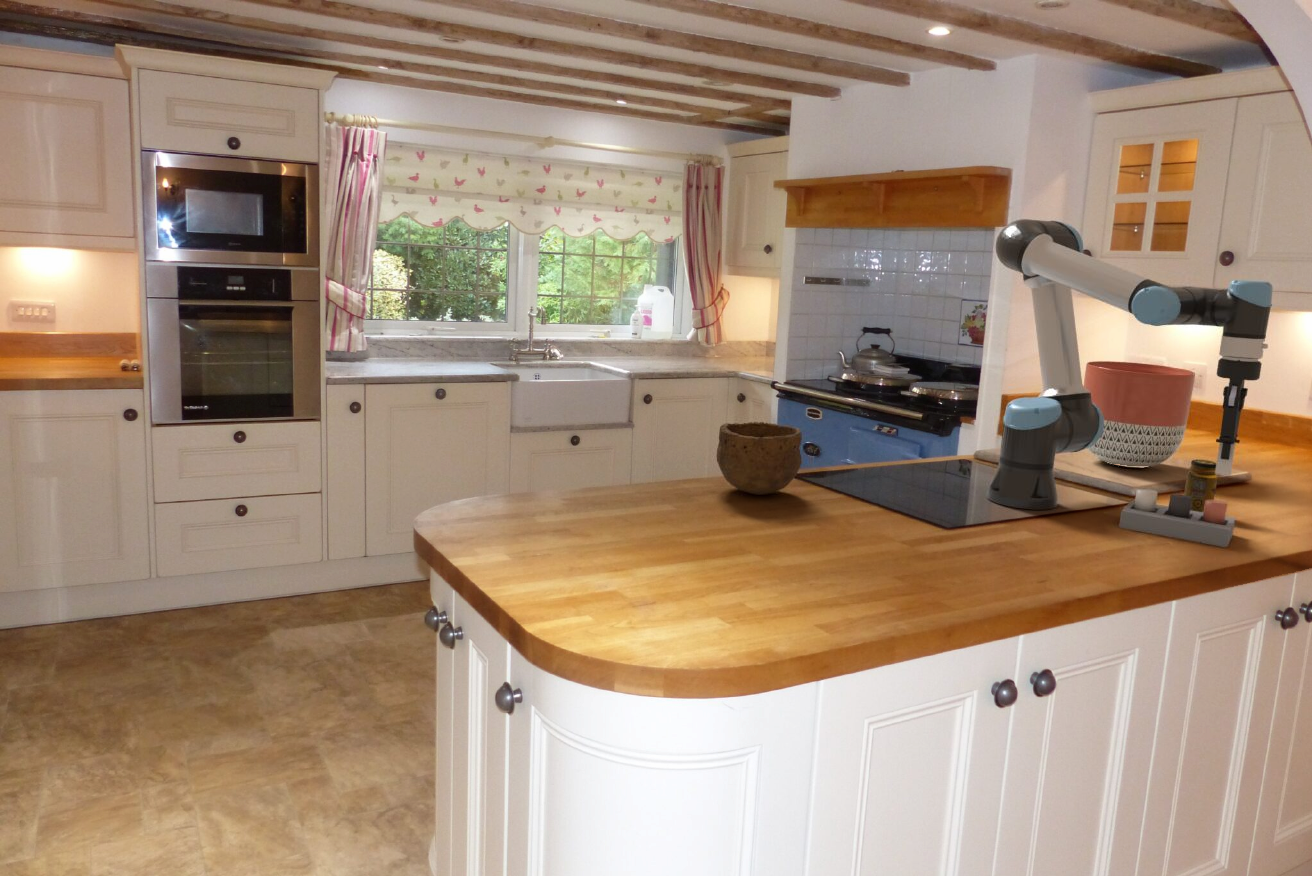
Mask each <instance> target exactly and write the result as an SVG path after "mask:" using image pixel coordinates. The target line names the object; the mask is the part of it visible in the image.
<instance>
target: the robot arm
mask: <svg viewBox="0 0 1312 876" xmlns="http://www.w3.org/2000/svg"><path fill="white" fill-rule="evenodd" d="M995 241H996V242H995V253H996V256H997V258H998V260H999V261H1000V263H1001V264H1002V265H1003V266H1004V267H1006V268H1007V269H1010V270H1013V271H1015V272H1017V273H1018V272H1019V273H1020V274H1022V280H1023V284H1024V285H1026V286H1027V287H1029V288H1030V290H1031V297H1032V306H1033V314H1034V323H1035V324H1034V325H1035V331H1036V340H1037V349H1038V357H1039V364H1040V365H1039V366H1040V373H1041V382H1042V383H1041V385H1042V391H1041V392H1040V393H1039V395H1038V396H1033V397H1019V398H1016V399H1015V398H1014V399H1012V400H1011V401H1010V402H1008V404H1006V407H1005V412H1004V415H1003V417H1002V418H1003V419H1002V421H1003V424H1002V425H1003V426H1002V435H1001V441H1000V442H1001V444H1000V452H999V459H998V461H999V462H998V466H997V468H996V470H995V472H994V474H993V477H992V478H991V480H990V483H989V485H988V487H987V493H986V498H987V499H988V500H989V501H991V502H994V503H995V504H999V505H1002V506H1006V507H1009V508H1010V507H1011V508H1017V509H1023V510H1034V511H1036V510H1038V511H1039V510H1040V511H1041V510H1051V509H1055V508H1057V506H1058V499H1059V496H1058V495H1059V494H1058V489H1057V486H1056V480H1055V476H1054V466H1055V460H1056V459H1055V457H1056V455H1057V454H1065V453H1078V452H1080V451H1084V450H1088V448H1089V447H1091V446H1093V445H1094V444H1095V443H1096V442H1097V441H1098V440H1099V438H1100V437H1101V435H1102V432H1103V429H1104V418H1103V414H1102V412H1101V410H1100V409H1099V408H1097V406H1096V405H1095V404H1094V403H1092V400H1091V393H1090V391H1089V390H1088V389H1087V388H1085V387H1084V383H1083V379H1082V371H1081V370H1082V369H1081V363H1080V354H1079V345H1078V335H1077V328H1076V318H1075V311H1074V310H1075V309H1074V301H1073V295H1072V293H1073V291H1072V290H1074V291H1076V292H1079V293H1080V294H1084V295H1086V296H1089V297H1091V298H1093V299H1095V300H1098V301H1099V302H1100V301H1101V302H1103V303H1106V304H1108V305H1110V306H1113V307H1114V308H1117V309H1120V310H1122V311H1124V312H1126V313H1129V314H1132V315H1133V316H1134V317H1135V319H1136V321H1138V322H1140V323H1141V324H1143V325H1148V326H1149V325H1150V326H1154V327H1160V326H1172V325H1173V326H1174V325H1175V326H1179V325H1181V326H1183V325H1184V326H1187V325H1189V326H1190V325H1191V326H1192V325H1193V326H1194V325H1195V326H1207V327H1208V326H1209V327H1218V328H1220V327H1221V328H1222V335H1221V339H1220V346H1219V351H1218V353H1219V356H1220V357H1221V358H1220V359H1218V363H1217V368H1216V376H1217V377H1218V378H1222V379H1229V382H1228V385H1226V386H1224V387H1223V391H1222V396H1223V402H1222V409H1223V411H1222V420H1221V428H1220V433H1219V434H1220V435H1219V436H1218V437H1219V438H1216V439H1215V442H1216V443H1218V444H1219V445H1218V452H1217V458H1216V462H1215V463H1216V470H1215V474H1216V475H1220V476H1221V475H1222V476H1227V477H1228V476H1229V477H1230V476H1231V475H1232V468H1233V462H1234V455H1235V449H1236V444H1240V441H1241V440H1240V439H1237V438H1238V436H1239V435H1238V433H1239V432H1238V431H1239V426H1240V420H1241V413H1242V410H1243V409H1244V406H1245V402H1246V401H1245V400H1246V397H1247V395H1248V392H1249V391H1248V390H1249V389H1248V388H1247V387H1245V382H1246V381H1257V380H1259V379H1260V377H1261V371H1262V362H1261V361H1260V360H1261V359H1262V358H1263V357H1264V350H1265V349H1268V348H1269V344H1268V343H1265V341H1266V338H1267V336H1266V335H1267V330H1268V324H1269V319H1270V313H1271V308H1272V305H1273V304H1272V298H1273V288H1274V287H1273V285H1272V284H1271V282H1269V281H1265V280H1264V281H1262V280H1246V279H1245V280H1244V279H1243V280H1242V279H1241V280H1239V279H1237V280H1236V279H1235V280H1231V282H1230V283H1229V286H1228V288H1225V289H1220V288H1209V287H1194V286H1173V287H1172V286H1168V285H1165V284H1162V283H1160V282H1157V281H1155V280H1152V279H1150V278H1147V277H1144V276H1143V275H1139V274H1137V273H1134V272H1132V271H1129V270H1127V269H1124V268H1121V267H1118V266H1116V265H1113V264H1111V263H1108V262H1107V261H1104V260H1100V259H1099V258H1095V257H1093V256H1090V255H1087V254H1085V253H1084V243H1083V238H1082V237H1081V235H1080V233H1079V231H1078V230H1077V229H1076V228H1075V227H1073V226H1072V225H1070V224H1068V223H1064V222H1062V221H1059V220H1058V221H1057V220H1038V219H1028V218H1025V219H1024V218H1021V219H1017V220H1014V221H1011V222H1010V223H1008V224H1007V225H1005V226H1004V227H1003V228H1002V229H1001V230H1000V232H999V233H998V235H997V237H996V240H995Z"/></svg>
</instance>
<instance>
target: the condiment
mask: <svg viewBox="0 0 1312 876" xmlns="http://www.w3.org/2000/svg"><path fill="white" fill-rule="evenodd" d="M1190 463H1191V464H1190V467H1189V470H1188V472H1187V475H1186V480H1185V484H1184V485H1185V486H1184V491H1183V495H1186V496H1190V497H1192V501H1191V507H1190V510H1191V511H1197V512H1204V506H1205V500H1215V495H1216V489H1217V485H1218V484H1217V482H1218V476H1219V475H1218V474H1215V470H1216V463H1217V462H1215V461H1211V460H1207V459H1192V460H1191V462H1190Z"/></svg>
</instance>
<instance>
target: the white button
mask: <svg viewBox="0 0 1312 876" xmlns="http://www.w3.org/2000/svg"><path fill="white" fill-rule="evenodd" d="M1157 498H1158V491H1157V490H1154V489H1151V488H1143V487H1141V488H1137V489H1136V493H1135V499H1134V501H1135V505H1134V508H1135V509H1138V510H1141V511H1149V512H1152V511H1155V506H1156V504H1157V500H1158V499H1157Z"/></svg>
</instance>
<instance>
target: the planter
mask: <svg viewBox="0 0 1312 876" xmlns="http://www.w3.org/2000/svg"><path fill="white" fill-rule="evenodd" d="M1084 370H1085V372H1084V377H1083V379H1084V380H1083V386H1084V387H1085V388H1087V389H1088V390H1089V391H1090V393H1091V400H1092V403H1094V404H1095V405H1096V406H1097V408H1099V409H1100V410H1101V412H1102V414H1103V418H1104V429H1103V432H1102V435H1101V437H1100V438H1099V440H1098V441H1097V442H1096V443H1095V444H1094V445H1093V446H1091V447H1089V448H1087V450H1088V451H1089V452H1090V453H1091V454H1092V455H1094V457H1096V458H1097V459H1098V460H1099V461H1101V460H1102V461H1101V462H1103V461H1105V462H1109V463H1112V464H1120V465H1127V466H1152V467H1155V466H1158V465H1159V464H1162V463H1164V462H1166V461H1167V460H1168V459H1170V458H1172V457H1173V456H1174V455H1175V454H1176V452H1177V451H1178V449H1179V448H1180V446H1181V445H1182V443H1183V439H1184V436H1185V433H1186V428H1187V424H1188V420H1189V419H1188V418H1189V413H1190V406H1191V402H1192V395H1193V391H1194V387H1195V386H1194V384H1195V378H1196V372H1194V371H1192V370H1188V369H1185V368H1180V367H1174V366H1166V365H1159V364H1149V363H1140V362H1128V361H1109V360H1101V361H1100V360H1097V361H1095V360H1094V361H1088V362H1087V363H1086V364H1085V369H1084ZM1105 462H1104V463H1105Z"/></svg>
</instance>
